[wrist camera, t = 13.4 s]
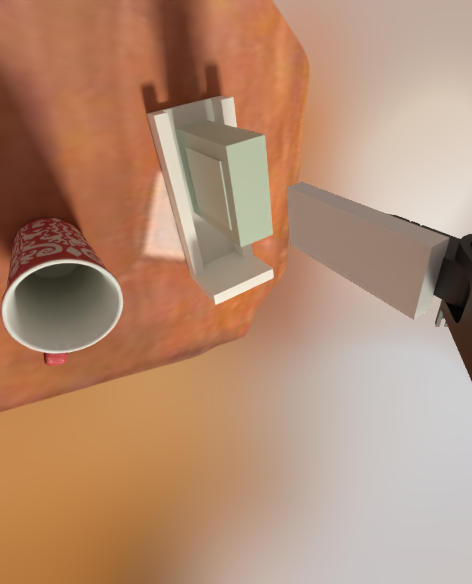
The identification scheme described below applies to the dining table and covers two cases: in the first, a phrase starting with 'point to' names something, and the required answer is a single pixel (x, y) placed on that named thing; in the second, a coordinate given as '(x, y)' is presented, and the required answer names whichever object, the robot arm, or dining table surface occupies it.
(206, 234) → the track
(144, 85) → the dining table surface
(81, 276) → the mug
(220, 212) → the door panel
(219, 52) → the dining table surface
